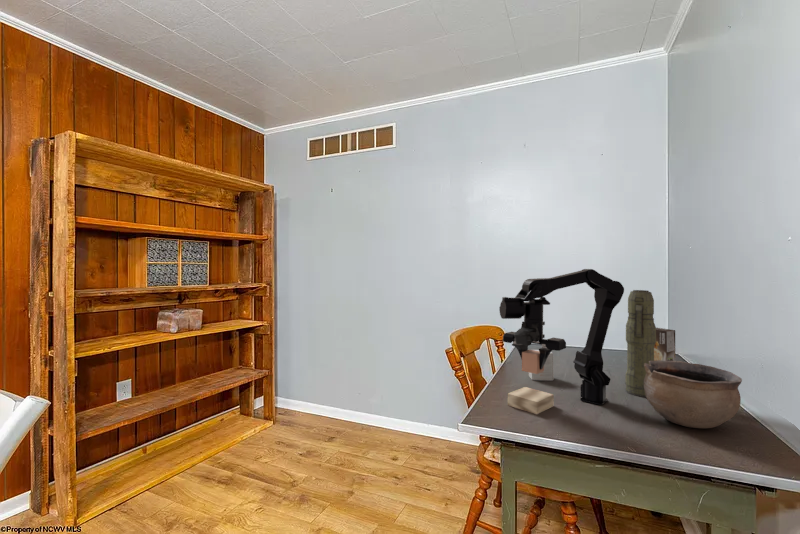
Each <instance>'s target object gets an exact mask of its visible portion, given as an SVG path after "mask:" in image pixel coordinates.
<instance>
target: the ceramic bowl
mask: <svg viewBox="0 0 800 534" xmlns="http://www.w3.org/2000/svg"><path fill="white" fill-rule="evenodd" d="M649 364H650V365H649ZM649 364H647V363H644V367H645V370H646V376H645V378H644V391H645V395H646V397H645V398H646V399H647V401H648V403H649V404H650V405H651V406H652V408H653V409H654V410H655V412H656V413H658V414H659V415H660V416H661V417H662V418H664V420H665V419H666V420H667V421H669V422H671V423H672V424H676V425H679V426H683V427H687V428H691V429H692V428H693V429H713V428H716V427H719V426H720V425H722V424H724V423H725V422H727V421H729V420H731V419H733V417H735V416H736V415H737V413H738V412H739V409H740V407H741V398H742V397H741V394H740V390H739V386H740V385H741V384H742V382H743V379H742V378H741V377H740V376H738V375H736V374H735V373H733V372H731V371H728V370H725V369H721V368H718V367H715V366H711V365H706V364H702V363H691V362H685V361H681V360H679V361H678V360H675V361H662V360H658V361H649Z"/></svg>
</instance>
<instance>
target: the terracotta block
mask: <svg viewBox="0 0 800 534" xmlns="http://www.w3.org/2000/svg"><path fill="white" fill-rule="evenodd" d="M535 350H536V349H528V350H527V351H524V352H522V359H521V371H522V372H526V373H529V372H530V373H534V374H538V373H540V372H543V371H544V366H543V368H542V369H541V370H540V367H539V363H540V352H539V351H535Z"/></svg>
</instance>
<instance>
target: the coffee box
mask: <svg viewBox="0 0 800 534" xmlns="http://www.w3.org/2000/svg"><path fill="white" fill-rule="evenodd" d="M658 360H662V361H676V330H674V329H668V328H661V327H656V343H655V345H654V361H658Z"/></svg>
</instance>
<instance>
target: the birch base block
mask: <svg viewBox="0 0 800 534" xmlns="http://www.w3.org/2000/svg"><path fill="white" fill-rule="evenodd" d="M554 402H555V397H554V393H549V392H546V391H542V390H538V389H534V388H531V387H527V386H523V387H521V388H519V389H516V390H513V391H511V392H508V393H507V406H509V407H512V408H514V409H517V410H518V409H519V410H522V411H525V412H528V413H531V414H535V415H539V414H541V413H543V412H544V411H546V410H548V409H550V408H553V407H554V405H555V403H554Z"/></svg>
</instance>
